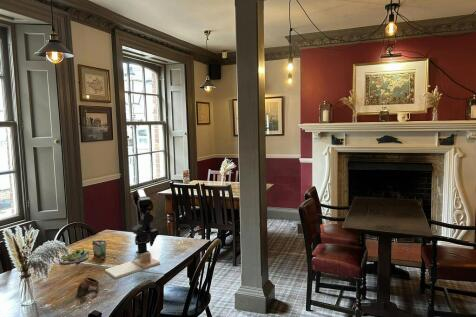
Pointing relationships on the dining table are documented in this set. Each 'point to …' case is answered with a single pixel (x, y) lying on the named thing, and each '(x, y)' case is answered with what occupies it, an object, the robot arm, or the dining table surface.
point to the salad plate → (75, 256)
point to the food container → (99, 249)
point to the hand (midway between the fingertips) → (146, 244)
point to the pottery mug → (86, 286)
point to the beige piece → (146, 261)
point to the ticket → (123, 269)
